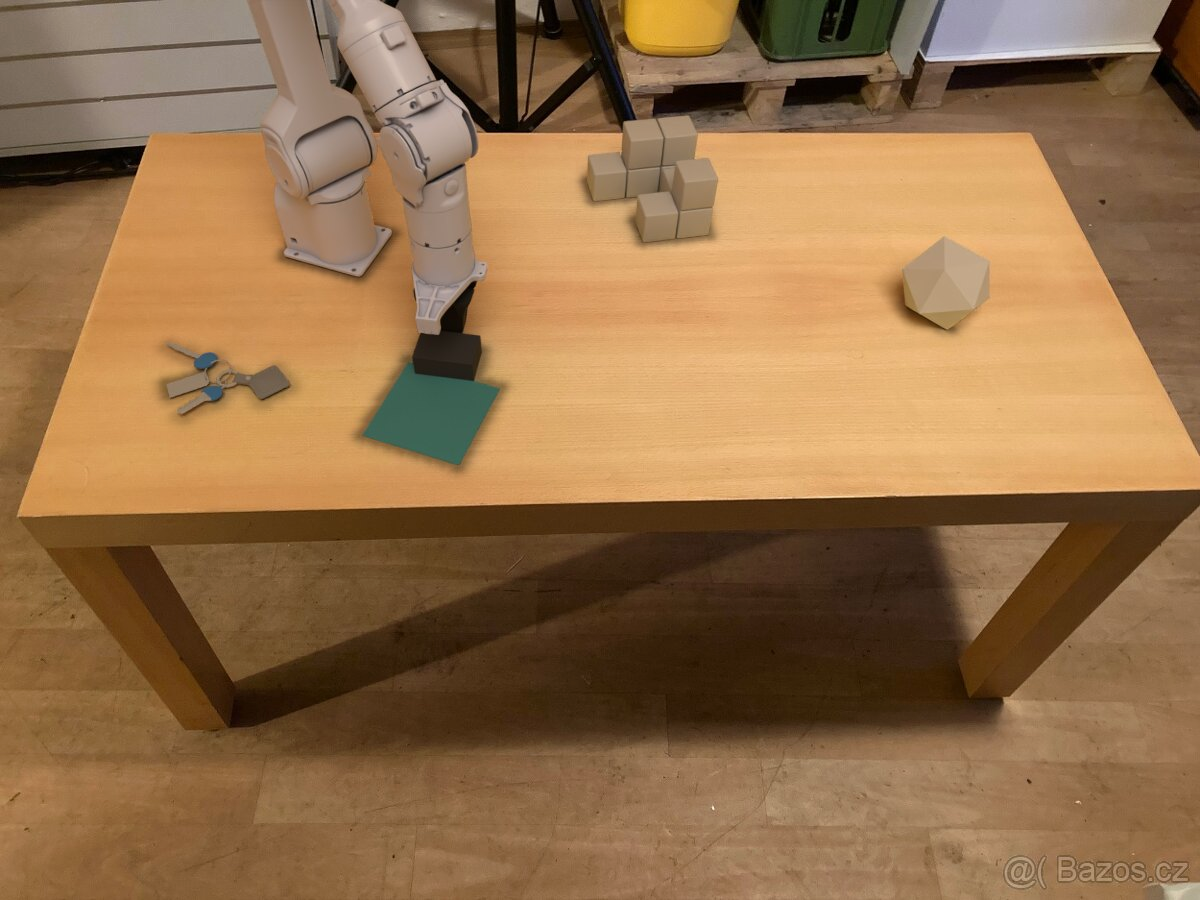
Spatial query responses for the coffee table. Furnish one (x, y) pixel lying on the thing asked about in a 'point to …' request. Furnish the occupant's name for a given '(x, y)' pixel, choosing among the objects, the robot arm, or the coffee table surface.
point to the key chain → (259, 382)
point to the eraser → (447, 355)
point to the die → (946, 282)
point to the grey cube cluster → (658, 178)
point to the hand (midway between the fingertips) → (452, 332)
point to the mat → (432, 414)
